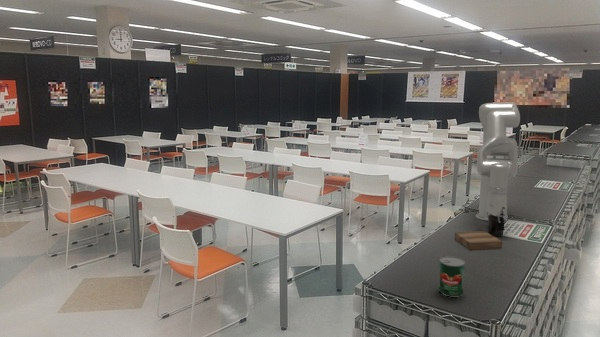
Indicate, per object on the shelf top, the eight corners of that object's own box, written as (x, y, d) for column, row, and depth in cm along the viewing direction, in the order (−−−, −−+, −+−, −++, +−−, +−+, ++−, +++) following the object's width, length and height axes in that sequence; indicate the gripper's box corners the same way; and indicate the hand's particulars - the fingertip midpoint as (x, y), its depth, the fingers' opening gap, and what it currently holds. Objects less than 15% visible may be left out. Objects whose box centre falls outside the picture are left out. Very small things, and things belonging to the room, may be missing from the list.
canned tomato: (457, 286, 142) (459, 255, 140) (467, 297, 134) (469, 265, 132) (434, 287, 142) (435, 256, 140) (443, 298, 134) (444, 266, 132)
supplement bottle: (500, 232, 196) (501, 207, 194) (505, 237, 189) (507, 211, 187) (485, 232, 197) (486, 207, 195) (490, 236, 190) (491, 211, 188)
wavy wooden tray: (454, 238, 188) (455, 232, 188) (484, 237, 190) (484, 231, 189) (470, 250, 175) (470, 243, 174) (501, 248, 176) (502, 241, 175)
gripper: (480, 186, 198) (478, 222, 201) (501, 195, 181) (498, 234, 184) (495, 186, 198) (492, 222, 201) (517, 194, 181) (514, 233, 184)
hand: (495, 227), depth 193 cm, fingers closed on supplement bottle, 6 cm apart
